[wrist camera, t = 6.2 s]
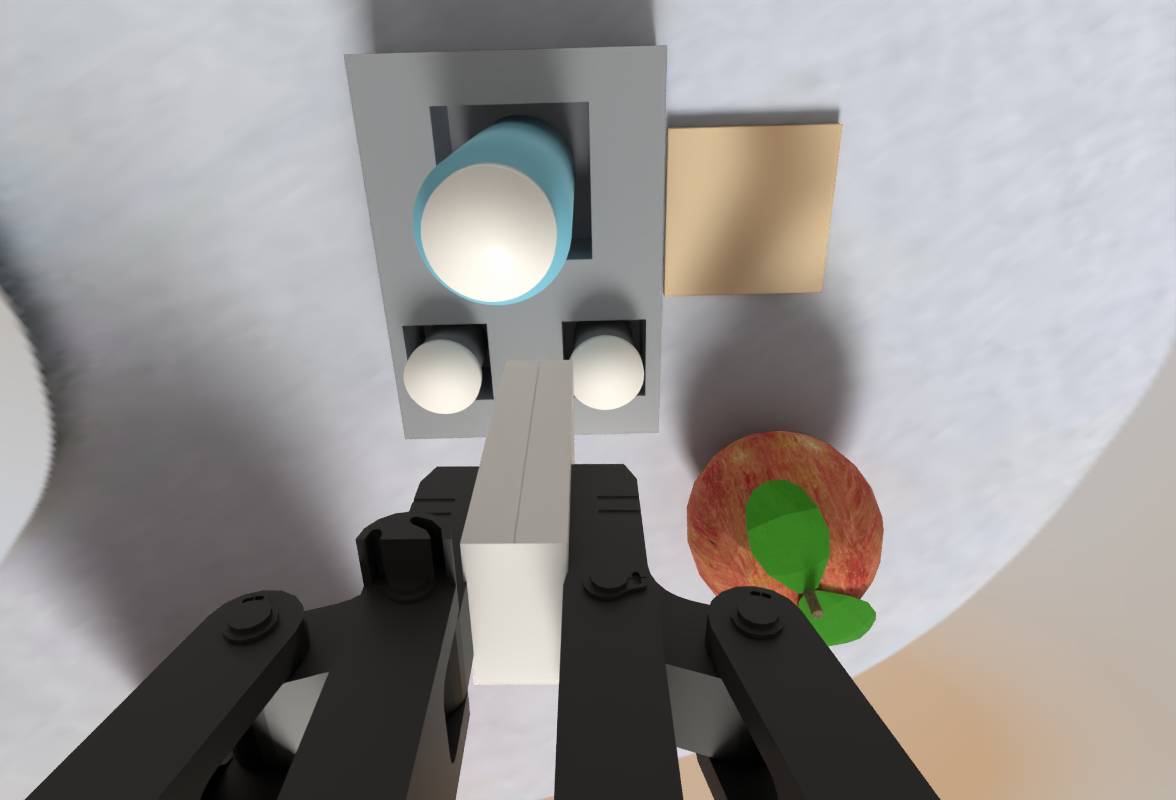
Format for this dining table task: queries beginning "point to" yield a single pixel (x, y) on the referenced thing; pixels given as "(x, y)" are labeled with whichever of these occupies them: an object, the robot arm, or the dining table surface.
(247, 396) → the dining table surface
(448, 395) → the plunger
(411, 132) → the housing
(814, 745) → the robot arm
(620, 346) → the plunger
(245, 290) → the dining table surface
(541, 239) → the cartridge
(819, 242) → the coaster
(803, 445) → the fruit
